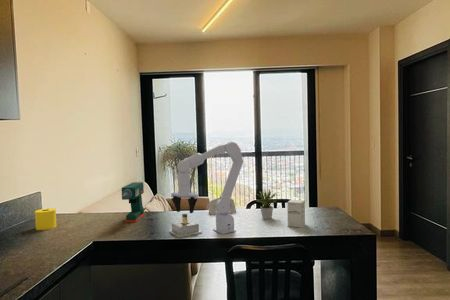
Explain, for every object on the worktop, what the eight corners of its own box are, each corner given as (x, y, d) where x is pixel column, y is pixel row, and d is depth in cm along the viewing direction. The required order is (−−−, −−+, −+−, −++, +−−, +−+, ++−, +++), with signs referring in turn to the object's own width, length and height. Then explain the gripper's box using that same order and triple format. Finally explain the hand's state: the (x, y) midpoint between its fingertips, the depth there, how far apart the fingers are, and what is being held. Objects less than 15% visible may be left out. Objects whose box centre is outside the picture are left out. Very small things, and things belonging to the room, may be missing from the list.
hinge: (209, 214, 207) (208, 198, 210) (208, 215, 212) (207, 199, 215) (237, 212, 210) (235, 196, 213) (235, 213, 215) (233, 197, 218)
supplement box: (287, 226, 176) (286, 201, 175) (291, 223, 183) (291, 199, 182) (301, 227, 173) (301, 202, 172) (305, 224, 179) (305, 199, 179)
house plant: (280, 221, 185) (279, 191, 185) (254, 221, 187) (253, 191, 187) (280, 215, 199) (279, 187, 199) (256, 215, 201) (255, 187, 201)
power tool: (130, 228, 182) (128, 190, 181) (117, 228, 182) (115, 190, 181) (145, 214, 213) (144, 182, 213) (134, 214, 214) (133, 182, 213)
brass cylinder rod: (188, 230, 171) (188, 213, 171) (186, 231, 169) (185, 215, 169) (184, 229, 172) (183, 213, 172) (182, 230, 170) (181, 214, 170)
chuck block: (201, 233, 168) (201, 224, 168) (178, 237, 162) (178, 228, 162) (191, 227, 179) (191, 219, 179) (169, 231, 173) (169, 222, 173)
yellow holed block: (47, 230, 183) (47, 212, 183) (31, 229, 185) (30, 212, 185) (60, 225, 193) (59, 208, 193) (44, 224, 195) (43, 208, 195)
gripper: (200, 184, 170) (201, 211, 171) (176, 183, 177) (177, 209, 178) (193, 186, 164) (194, 214, 165) (168, 185, 171) (169, 212, 171)
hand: (185, 212), depth 171 cm, fingers open, 7 cm apart
